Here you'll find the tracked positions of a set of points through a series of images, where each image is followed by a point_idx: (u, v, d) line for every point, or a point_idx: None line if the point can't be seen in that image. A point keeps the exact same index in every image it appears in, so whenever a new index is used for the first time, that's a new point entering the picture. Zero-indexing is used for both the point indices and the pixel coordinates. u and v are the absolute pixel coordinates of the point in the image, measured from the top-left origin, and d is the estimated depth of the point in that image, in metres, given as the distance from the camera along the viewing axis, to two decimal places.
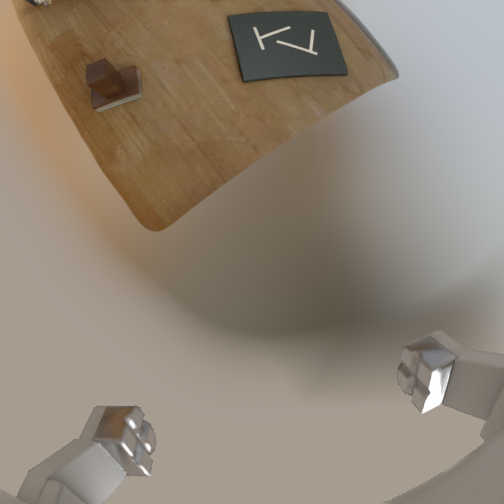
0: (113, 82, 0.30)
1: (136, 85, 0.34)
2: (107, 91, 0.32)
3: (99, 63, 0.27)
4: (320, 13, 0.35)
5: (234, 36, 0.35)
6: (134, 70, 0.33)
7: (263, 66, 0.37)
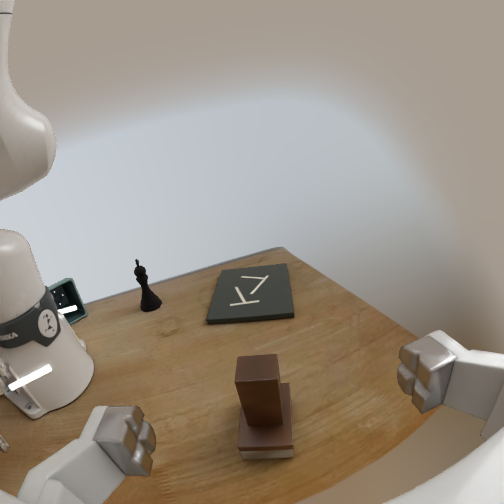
0: None
1: None
2: (281, 400, 0.23)
3: (244, 362, 0.22)
4: (222, 272, 0.59)
5: (236, 317, 0.44)
6: None
7: (279, 301, 0.46)
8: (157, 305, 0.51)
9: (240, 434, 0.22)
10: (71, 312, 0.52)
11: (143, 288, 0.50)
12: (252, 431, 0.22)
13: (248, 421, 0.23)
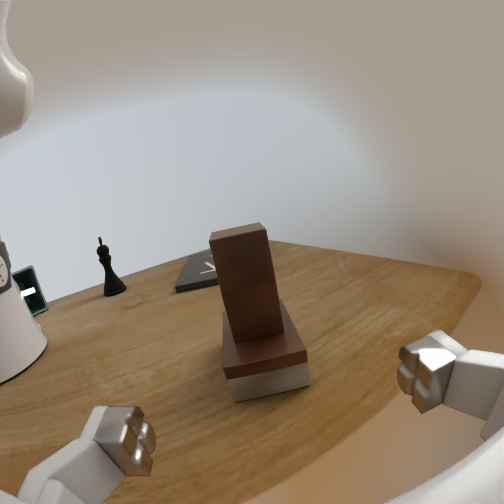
0: None
1: None
2: None
3: (220, 232, 0.18)
4: (190, 257, 0.55)
5: (208, 279, 0.39)
6: None
7: None
8: (121, 288, 0.44)
9: (225, 353, 0.17)
10: (31, 309, 0.42)
11: (106, 269, 0.44)
12: (242, 347, 0.17)
13: (234, 331, 0.18)
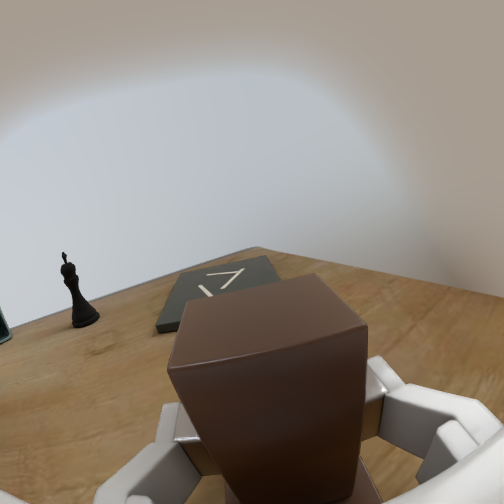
0: None
1: None
2: None
3: (210, 307, 0.06)
4: (181, 275, 0.43)
5: None
6: None
7: None
8: (92, 318, 0.32)
9: None
10: None
11: (73, 294, 0.31)
12: None
13: None
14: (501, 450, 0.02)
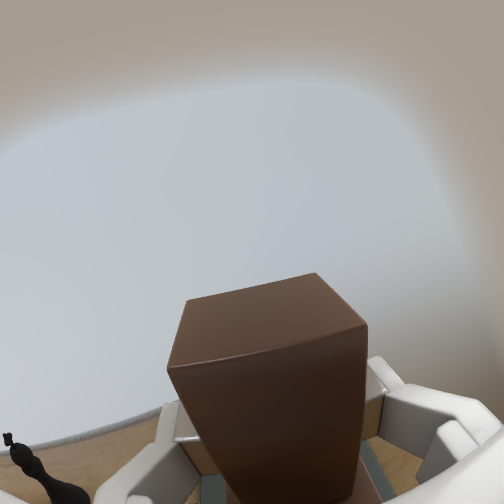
0: None
1: None
2: None
3: (210, 307, 0.06)
4: None
5: None
6: None
7: None
8: None
9: None
10: None
11: (42, 484, 0.11)
12: None
13: None
14: (501, 450, 0.02)
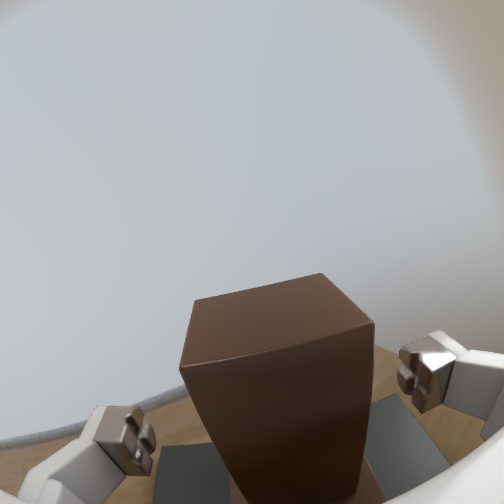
0: None
1: None
2: None
3: (219, 307, 0.06)
4: (164, 463, 0.11)
5: None
6: None
7: None
8: None
9: None
10: None
11: None
12: None
13: None
14: (501, 450, 0.02)
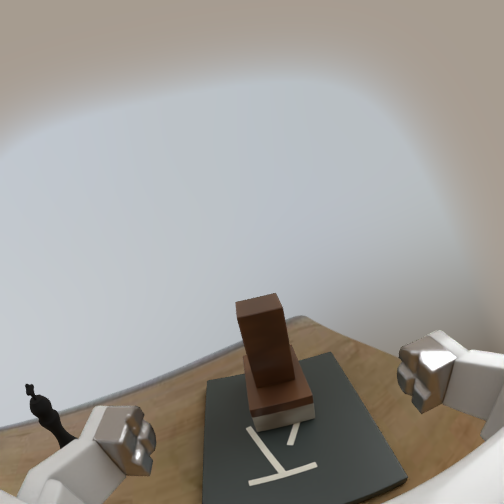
0: None
1: None
2: None
3: (244, 303, 0.22)
4: (210, 387, 0.27)
5: None
6: None
7: (362, 455, 0.15)
8: None
9: (250, 397, 0.20)
10: None
11: (57, 437, 0.16)
12: (262, 392, 0.21)
13: (256, 380, 0.21)
14: (501, 450, 0.02)
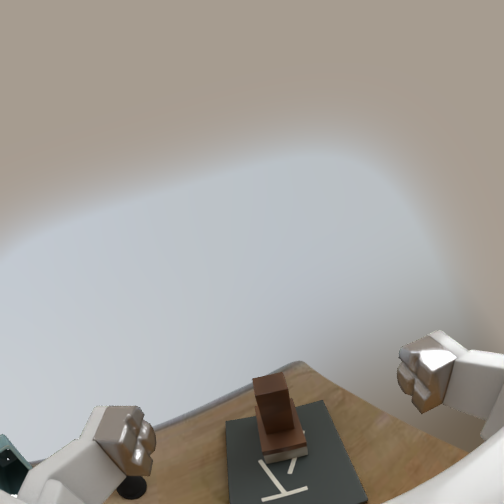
0: None
1: None
2: None
3: (259, 381, 0.28)
4: (228, 427, 0.33)
5: None
6: None
7: (339, 483, 0.21)
8: (141, 491, 0.22)
9: (261, 442, 0.26)
10: (24, 474, 0.20)
11: None
12: (271, 438, 0.27)
13: (266, 430, 0.27)
14: (501, 450, 0.02)
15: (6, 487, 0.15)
